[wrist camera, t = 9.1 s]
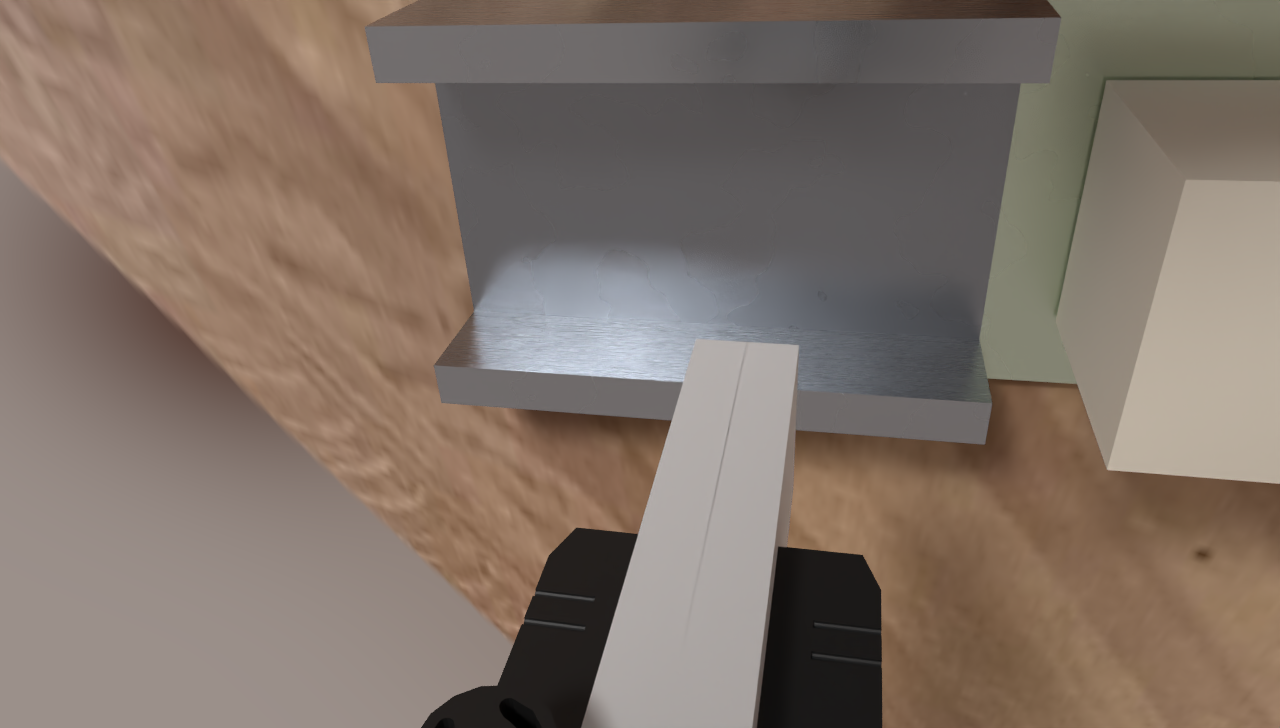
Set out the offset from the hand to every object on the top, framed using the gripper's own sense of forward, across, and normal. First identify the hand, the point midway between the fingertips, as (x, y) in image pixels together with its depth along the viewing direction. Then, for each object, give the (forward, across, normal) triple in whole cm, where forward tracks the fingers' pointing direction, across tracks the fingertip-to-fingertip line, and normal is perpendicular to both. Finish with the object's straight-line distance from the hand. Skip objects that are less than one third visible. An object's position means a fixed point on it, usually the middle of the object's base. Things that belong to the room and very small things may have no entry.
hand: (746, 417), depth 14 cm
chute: (+11, +3, -1) cm, 11 cm away
